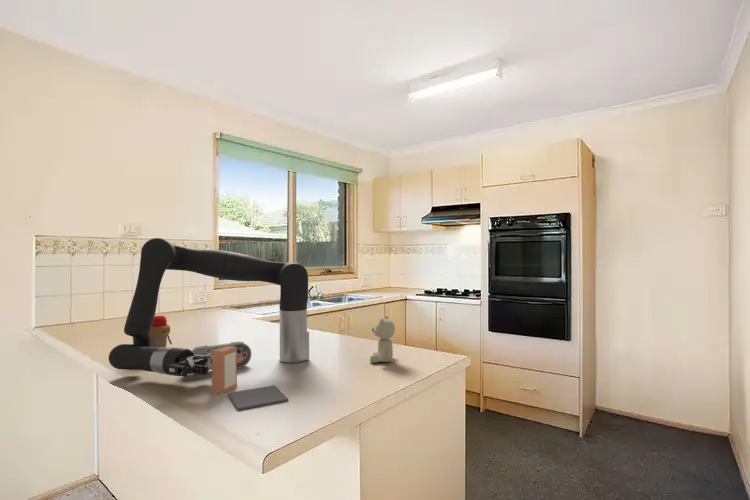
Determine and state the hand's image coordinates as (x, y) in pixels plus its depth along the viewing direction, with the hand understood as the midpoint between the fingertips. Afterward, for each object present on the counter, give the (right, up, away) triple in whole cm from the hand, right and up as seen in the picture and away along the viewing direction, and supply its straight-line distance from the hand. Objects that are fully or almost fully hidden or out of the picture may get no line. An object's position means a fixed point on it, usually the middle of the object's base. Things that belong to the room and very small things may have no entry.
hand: (218, 366), depth 109 cm
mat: (+12, -6, -7) cm, 15 cm away
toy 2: (+45, -6, +27) cm, 53 cm away
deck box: (+2, -6, 0) cm, 6 cm away
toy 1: (-33, -7, +32) cm, 46 cm away
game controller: (-7, -7, +18) cm, 20 cm away
